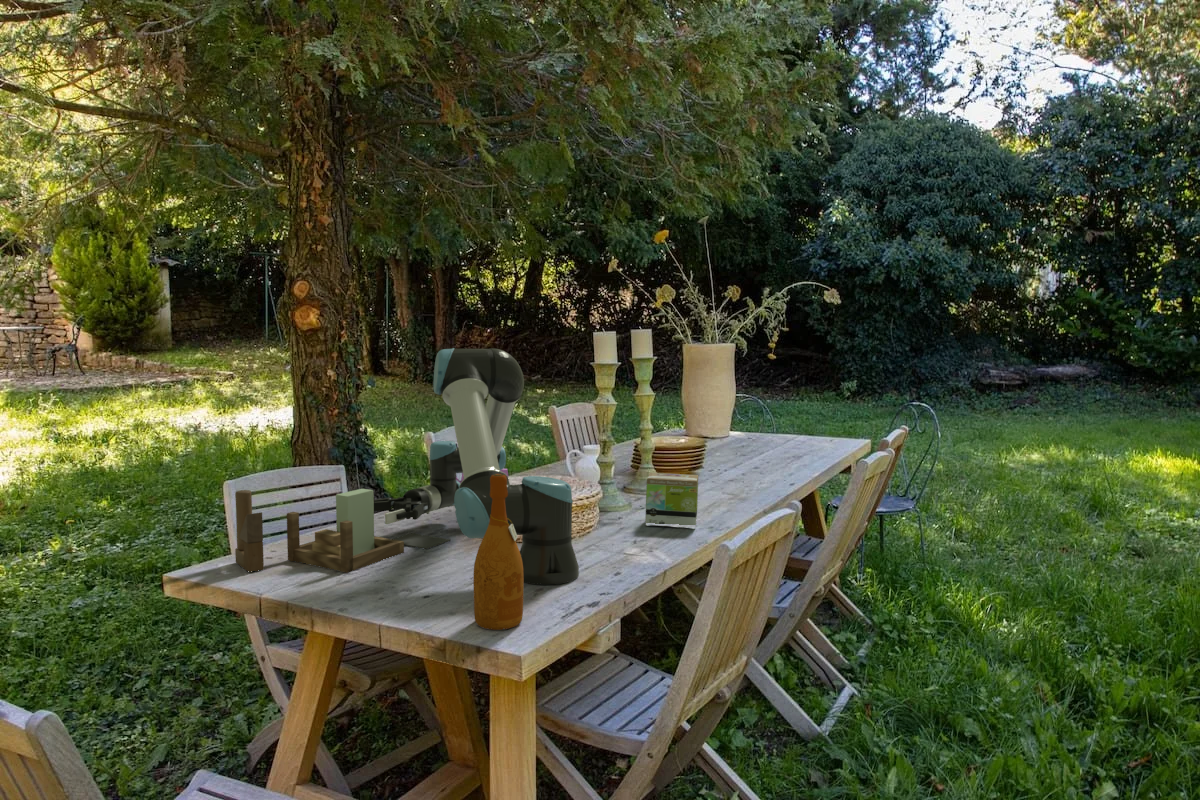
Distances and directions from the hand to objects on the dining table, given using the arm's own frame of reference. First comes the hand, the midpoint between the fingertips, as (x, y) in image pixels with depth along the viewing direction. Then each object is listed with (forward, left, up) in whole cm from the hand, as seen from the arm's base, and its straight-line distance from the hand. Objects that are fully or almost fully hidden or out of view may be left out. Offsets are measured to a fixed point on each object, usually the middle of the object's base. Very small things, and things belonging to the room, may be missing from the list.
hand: (366, 515), depth 213 cm
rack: (-1, +7, -9) cm, 12 cm away
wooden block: (+13, +25, -9) cm, 30 cm away
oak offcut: (0, +13, -7) cm, 14 cm away
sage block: (-1, +4, -9) cm, 10 cm away
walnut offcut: (0, +13, -4) cm, 13 cm away
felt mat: (-7, -13, -9) cm, 17 cm away
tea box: (-59, -66, -9) cm, 88 cm away
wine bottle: (-61, +26, -9) cm, 67 cm away
